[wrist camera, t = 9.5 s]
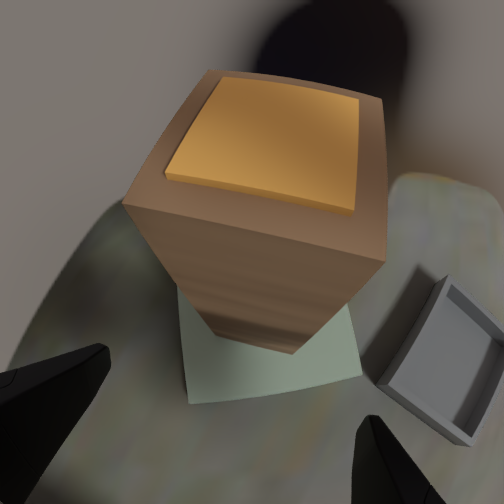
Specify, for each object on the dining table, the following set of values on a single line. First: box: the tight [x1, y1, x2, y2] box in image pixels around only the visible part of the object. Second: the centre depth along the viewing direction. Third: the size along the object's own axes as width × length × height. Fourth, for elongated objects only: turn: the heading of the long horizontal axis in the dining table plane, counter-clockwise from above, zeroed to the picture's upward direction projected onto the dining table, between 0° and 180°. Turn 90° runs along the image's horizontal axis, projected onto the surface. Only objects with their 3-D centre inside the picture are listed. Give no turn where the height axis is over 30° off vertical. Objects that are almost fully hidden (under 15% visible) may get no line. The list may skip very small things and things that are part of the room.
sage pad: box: [177, 286, 363, 404], centre depth 18 cm, size 10×10×1 cm
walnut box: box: [122, 70, 388, 355], centre depth 11 cm, size 4×4×13 cm
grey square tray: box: [375, 274, 504, 447], centre depth 15 cm, size 9×9×2 cm
